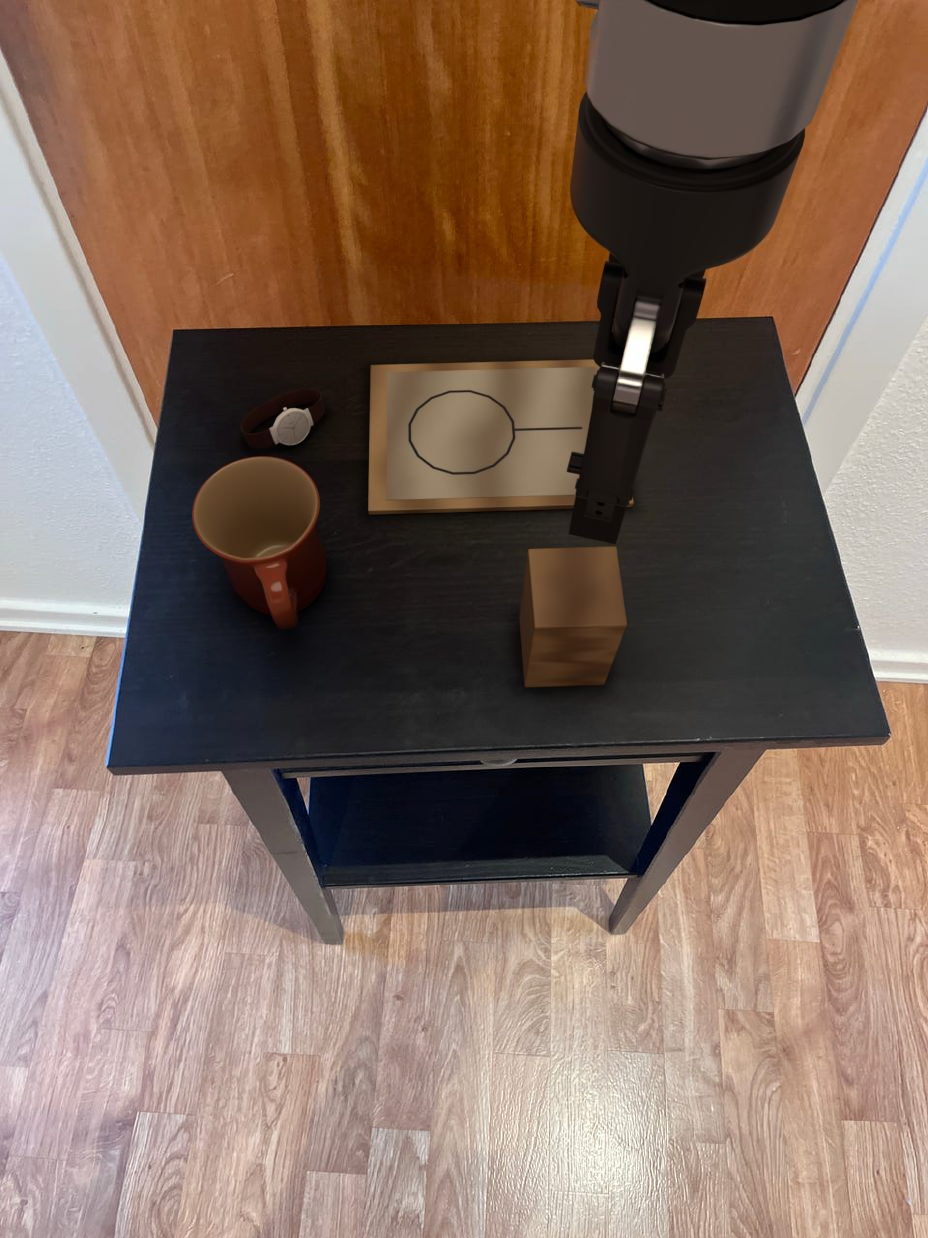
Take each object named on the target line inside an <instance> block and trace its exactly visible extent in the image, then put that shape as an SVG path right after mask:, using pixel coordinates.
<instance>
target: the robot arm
mask: <svg viewBox="0 0 928 1238" xmlns="http://www.w3.org/2000/svg"><path fill="white" fill-rule="evenodd" d="M574 1H575V2H576V4H577V6H578V7H582V8H587V9H592V10H596V12H595V14H594V16H593V19H592V20H591V24H590V28H589V36H588V45H587V53H586V63H585V72H584V86H585V90H586V91H585V92H584V94H583V96H582V98H581V100H580V103H579V107H578V108H579V109H578V113H577V121H576V122H577V124H576V130H575V139H574V148H573V157H572V166H571V174H570V175H571V176H570V183H569V195H570V196H569V198H570V202H571V207H572V210H573V213H574V215H575V217H576V219H577V221H578V223H579V224H580V226H581V227H582V228H583V230H584V232H585V233H587V234H588V236H589V237H590V238H591V239H592V240H593V241H594V242H595V243H597V244H598V245H599V246H601V247H602V248H604V249H605V250H606V251H607V252H609V254H608V260H605V261H604V264H603V269H602V273H601V276H600V277H601V278H600V282H599V288H598V293H597V298H596V299H597V300H596V307H597V310H598V311H599V313H600V316H599V317H600V318H599V322H598V323H599V324H598V329H597V332H596V333H597V334H596V338H595V339H596V340H595V345H594V349H593V355H592V357H593V360H594V362H595V363H596V364H597V365H598V366H599V367H600V368H599V370H597V374H596V375H594V377H593V382H592V387H591V388H593V391H594V395H593V403H592V411H591V417H590V422H589V428H588V433H587V439H586V445H585V450H584V454H582V453H577V452H571V456H570V460H569V463H568V467H567V472H568V473H573V474H578V475H580V476H579V479H578V478H577V481H576V485H575V489H576V493H575V494H576V497H575V502H574V507H573V509H572V513H571V518H570V519H571V520H570V524H569V529H568V535H570V536H576V537H579V538H585V539H588V540H593V541H598V542H602V543H607V544H612V545H617V542H618V538H619V535H620V532H621V527H622V525H623V521H624V517H625V513H626V510H627V508H628V507H627V505H629V502H630V500H631V501H632V498H633V499H634V494H635V489H634V485H635V481H636V479H637V474H638V471H639V468H640V464H641V461H642V458H643V455H644V451H645V447H646V444H647V441H648V438H649V434H650V431H651V428H652V426H653V425H652V424H653V421H654V419H655V416H656V413H657V412H662V411H663V408H664V407H663V406H664V404H665V399H666V394H667V388H665V387H666V382H665V380H666V379H669V378H670V377H672V376H673V375H674V373H675V372H676V368H677V364H678V360H679V357H680V353H681V349H682V346H683V343H684V341H685V340H684V339H685V336H686V333H687V331H688V329H690V328H691V327H692V326H693V325H694V324H695V323H696V321H697V318H698V315H699V311H700V307H701V305H702V301H703V297H704V293H705V288H706V285H707V278H706V277H704V276H705V274H706V270H709V269H712V268H718V267H722V266H723V265H726V264H729V263H731V262H735V261H736V260H738V259H740V258H742V257H744V256H745V255H747V254H748V253H750V252H751V251H753V250H754V249H755V248H757V247H758V246H759V245H760V244H761V243H762V242H763V240H764V239H766V238H767V236H768V235H769V233H770V232H771V230H772V229H773V227H774V224H775V223H776V220H777V218H778V215H779V213H780V209H781V207H782V204H783V201H784V199H785V196H786V193H787V190H788V189H789V188H788V187H789V184H790V182H791V180H792V177H793V175H794V172H795V169H796V166H797V163H798V160H799V157H800V155H801V152H802V149H803V146H804V144H805V139H806V128H807V127H808V126H809V125H810V124H811V123H812V122H813V120H814V117H815V116H816V113H817V111H818V109H819V107H820V104H821V102H822V99H823V96H824V94H825V91H826V88H827V86H828V83H829V80H830V77H831V75H832V72H833V69H834V67H835V63H836V61H837V60H838V59H837V58H838V56H839V53H840V50H841V48H842V45H843V43H844V40H845V37H846V34H847V32H848V29H849V26H850V23H851V21H852V18H853V15H854V12H855V10H856V7H857V5H858V2H859V0H574Z"/></svg>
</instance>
